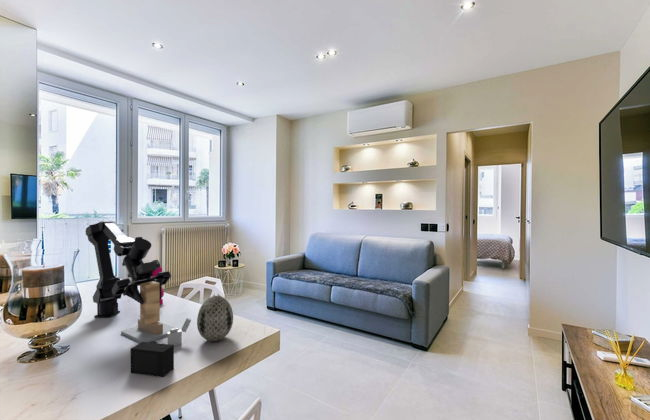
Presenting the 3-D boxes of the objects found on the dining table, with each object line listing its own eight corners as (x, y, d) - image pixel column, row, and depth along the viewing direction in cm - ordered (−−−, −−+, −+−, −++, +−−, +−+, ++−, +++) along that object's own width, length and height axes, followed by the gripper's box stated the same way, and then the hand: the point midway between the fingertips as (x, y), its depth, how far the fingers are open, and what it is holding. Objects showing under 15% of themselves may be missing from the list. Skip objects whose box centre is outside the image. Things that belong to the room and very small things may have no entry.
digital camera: (177, 366, 85) (177, 342, 85) (163, 377, 79) (163, 351, 79) (146, 363, 87) (145, 339, 87) (130, 373, 81) (130, 348, 81)
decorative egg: (189, 344, 98) (188, 299, 98) (214, 330, 109) (214, 290, 109) (217, 350, 94) (216, 303, 94) (240, 335, 105) (240, 293, 105)
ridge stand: (121, 333, 106) (121, 322, 106) (154, 322, 116) (154, 312, 116) (144, 344, 98) (144, 332, 98) (178, 331, 108) (178, 320, 108)
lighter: (167, 347, 96) (167, 322, 96) (167, 344, 98) (167, 320, 98) (191, 342, 100) (191, 318, 100) (190, 340, 101) (190, 316, 101)
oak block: (140, 322, 106) (140, 283, 106) (153, 318, 110) (152, 281, 110) (146, 325, 104) (146, 285, 104) (159, 321, 108) (159, 282, 108)
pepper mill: (167, 301, 142) (166, 260, 142) (157, 306, 135) (156, 263, 134) (153, 301, 143) (152, 260, 142) (142, 306, 135) (142, 263, 135)
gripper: (115, 257, 101) (131, 294, 95) (168, 250, 117) (185, 282, 111) (105, 277, 105) (120, 314, 100) (157, 268, 121) (173, 299, 115)
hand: (151, 301), depth 106 cm, fingers open, 6 cm apart
